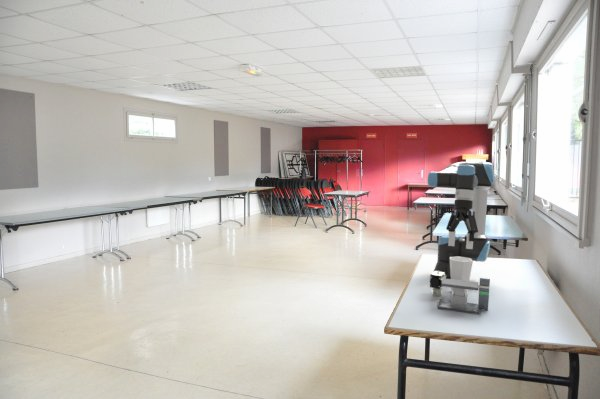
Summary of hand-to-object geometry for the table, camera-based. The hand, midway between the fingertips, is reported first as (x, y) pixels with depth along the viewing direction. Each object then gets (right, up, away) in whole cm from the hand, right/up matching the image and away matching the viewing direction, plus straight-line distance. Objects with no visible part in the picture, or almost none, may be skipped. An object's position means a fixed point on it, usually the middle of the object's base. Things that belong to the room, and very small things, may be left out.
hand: (459, 247), depth 189 cm
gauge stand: (+1, -27, 0) cm, 27 cm away
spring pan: (+2, -22, -1) cm, 22 cm away
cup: (+8, -25, +22) cm, 34 cm away
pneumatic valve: (-4, -25, +17) cm, 31 cm away
